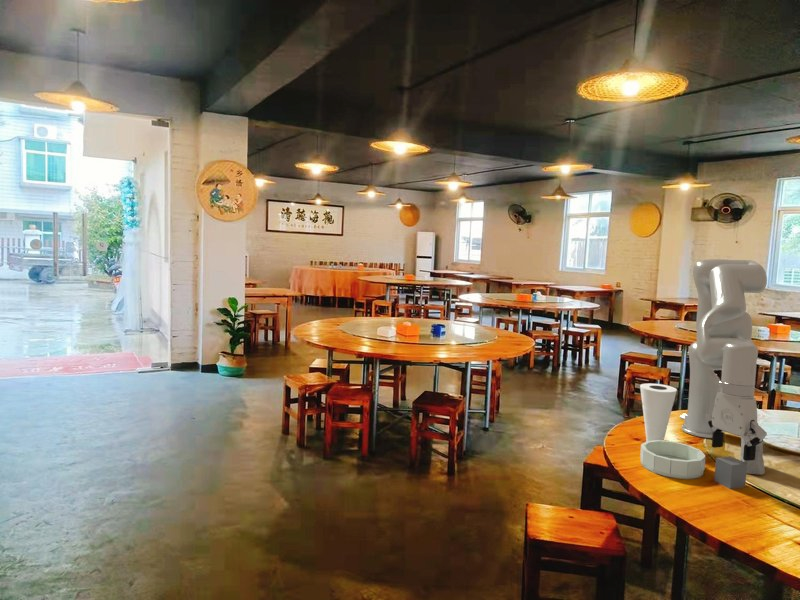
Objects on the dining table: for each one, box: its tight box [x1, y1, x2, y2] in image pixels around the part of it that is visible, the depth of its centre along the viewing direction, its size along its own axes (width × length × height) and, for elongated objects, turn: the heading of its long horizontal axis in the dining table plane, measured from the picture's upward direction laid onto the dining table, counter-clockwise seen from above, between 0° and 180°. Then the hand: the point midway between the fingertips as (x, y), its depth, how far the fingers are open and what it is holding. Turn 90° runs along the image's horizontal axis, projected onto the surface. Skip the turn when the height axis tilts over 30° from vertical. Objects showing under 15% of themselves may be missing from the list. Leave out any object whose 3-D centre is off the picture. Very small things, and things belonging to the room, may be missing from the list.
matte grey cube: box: [714, 455, 747, 490], centre depth 145 cm, size 5×5×6 cm
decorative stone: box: [739, 422, 766, 476], centre depth 155 cm, size 11×6×15 cm, turn 156°
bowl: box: [639, 439, 706, 480], centre depth 155 cm, size 16×16×5 cm
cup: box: [639, 382, 678, 442], centre depth 174 cm, size 11×11×18 cm
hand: (732, 453), depth 143 cm, fingers open, 9 cm apart
